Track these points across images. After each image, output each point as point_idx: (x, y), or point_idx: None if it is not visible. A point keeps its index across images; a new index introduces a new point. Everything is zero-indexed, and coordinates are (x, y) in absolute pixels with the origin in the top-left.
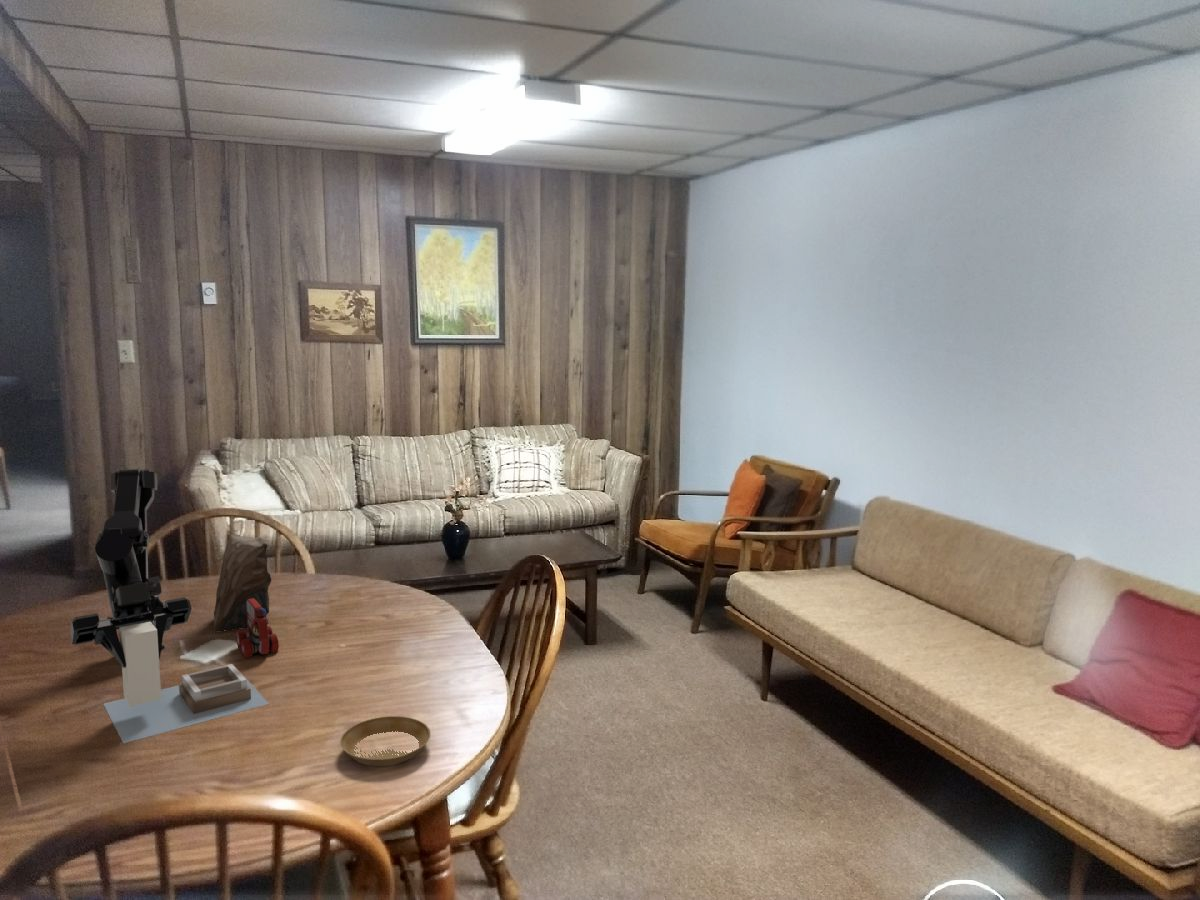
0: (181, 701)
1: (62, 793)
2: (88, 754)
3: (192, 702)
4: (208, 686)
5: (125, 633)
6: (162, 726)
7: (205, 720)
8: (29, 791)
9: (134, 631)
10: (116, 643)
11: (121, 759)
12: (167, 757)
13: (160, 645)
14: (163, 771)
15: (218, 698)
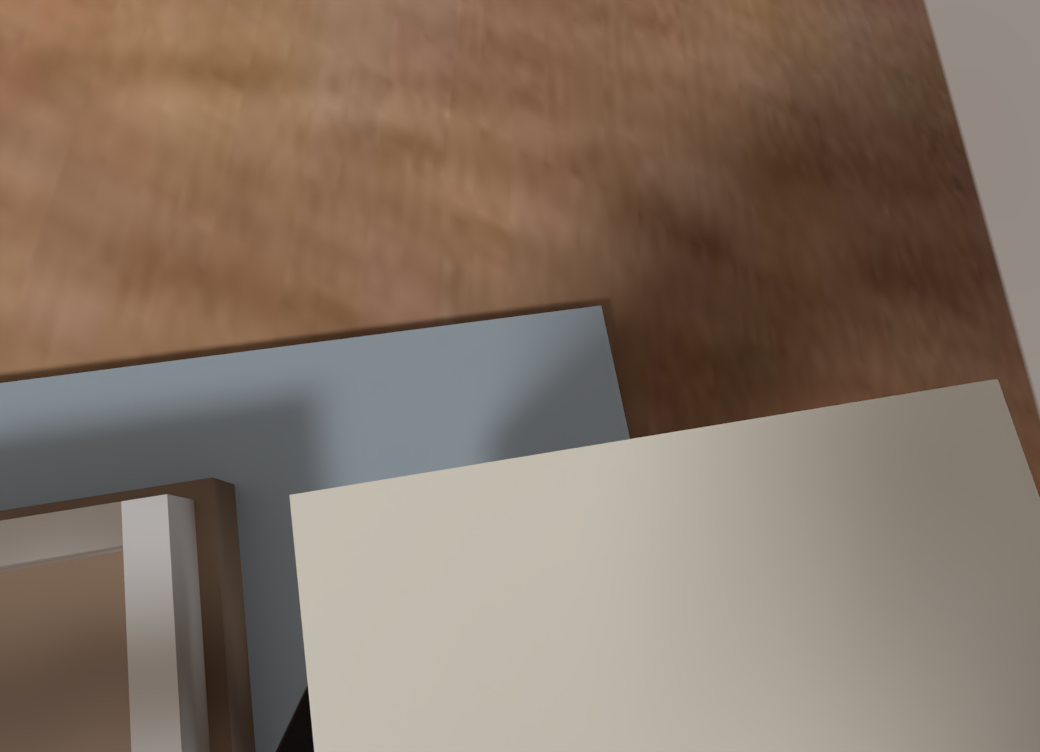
0: (272, 722)
1: (788, 46)
2: (737, 306)
3: (213, 500)
4: (45, 746)
5: (1024, 568)
6: (415, 401)
7: (190, 364)
8: (899, 117)
9: (840, 630)
10: None
11: (602, 192)
12: (420, 113)
13: (305, 722)
14: (444, 13)
15: (39, 506)
